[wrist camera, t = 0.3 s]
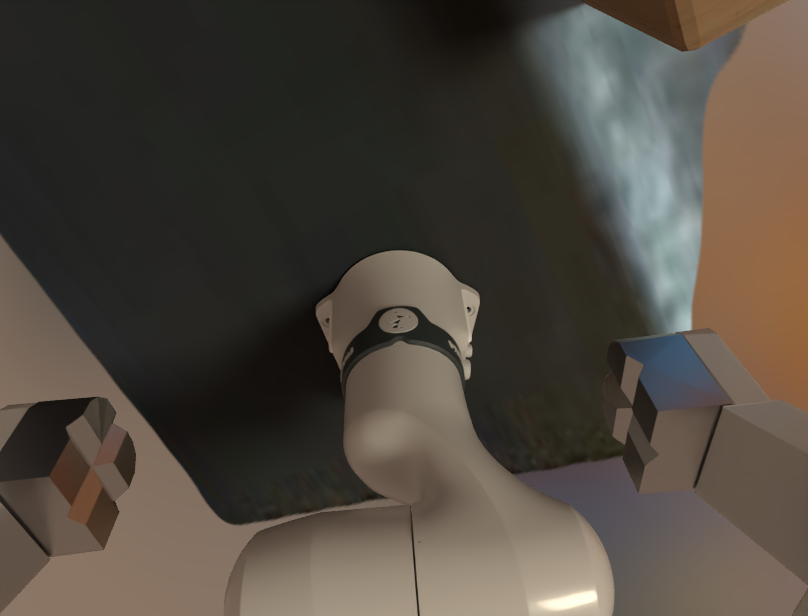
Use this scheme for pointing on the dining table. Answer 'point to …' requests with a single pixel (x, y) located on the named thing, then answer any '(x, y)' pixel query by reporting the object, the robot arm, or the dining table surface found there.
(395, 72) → the dining table surface
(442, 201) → the dining table surface
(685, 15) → the wooden block
